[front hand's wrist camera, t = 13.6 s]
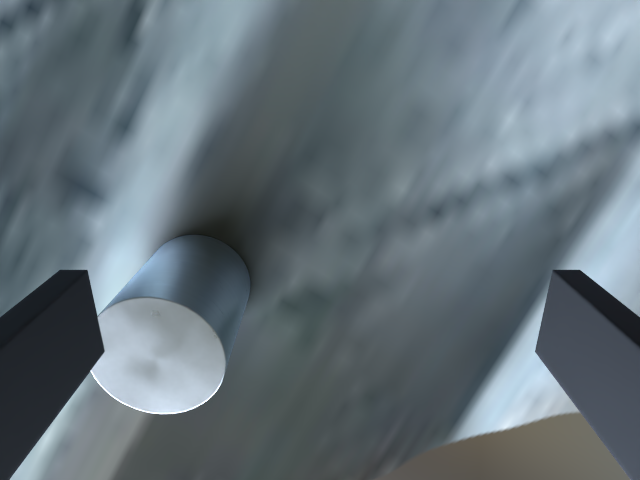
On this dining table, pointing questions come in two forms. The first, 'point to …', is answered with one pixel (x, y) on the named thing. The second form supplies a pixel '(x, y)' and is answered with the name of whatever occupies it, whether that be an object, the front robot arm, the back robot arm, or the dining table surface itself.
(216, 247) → the can
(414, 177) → the dining table surface
